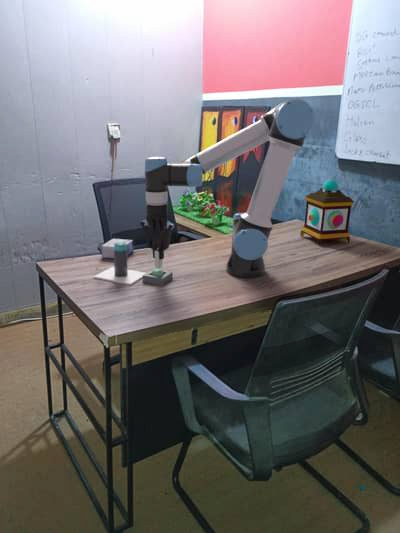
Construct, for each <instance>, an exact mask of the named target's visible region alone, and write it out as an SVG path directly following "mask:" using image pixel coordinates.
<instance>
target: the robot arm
mask: <svg viewBox="0 0 400 533" xmlns="http://www.w3.org/2000/svg"><path fill="white" fill-rule="evenodd" d="M314 124H315V112H314V110H313V107H312V105H310V104H309V102H307V101H306V100H304V99H302V98H298V97H293V98H288V99H286V100H284V101H280V103H279V104H277V105H276V106H275V107H274V108H272V109H270V110H269V111H268V112H266V113H264V114H262V115H261V116H260V119H259V120H258V121H256V122H254V123H252V124H250V125H248V126H247V127H245V128H242V129H241V130H239V131H237V132H236V133H234V134H231V135H230V136H227V137H226V138H224V139H223V140H220V141H219V142H216V143H214V144H213V145H211V146H209V147H207V148H206V149H204V150H202V151H199V152H198V153H196V154H195V155H193V156H191V157H188V158H186V159H184V160H182V161H181V162H180V163H170V162H169V163H168V158H167V157H163V156H150V157H147V158H146V159H145V161H144V182H145V202H146V204H145V211H146V212H145V213H146V216H145V219H144V220H141V222H140V223H139V224H140V226H141V228H142V229H143V234H144V238H145V242H146V246H147V248H148V249H151V251H152V258H153V259H154V269H162V267H163V259H164V258H165V251H166V250H168V249H169V248H170V244H171V240H172V234H173V230H174V228H175V226H176V224H175V223H172V222H171V221H170V219H169V217H168V216H169V204H168V190H169V189H168V187H189V188H193V187H201V186H202V185H203V176H204V175H205V174H207V173H209V172H211V171H213V170H215V169H217V168H218V167H220V166H222V165H224V164H226V163H228V162H230V161H232V160H234V159H235V158H237V157H239V156H241V155H243V154H246V153H247V152H249V151H252V150H253V149H255V148H257V147H259V146H261V145H262V144H265V143H266V142H268V141H269V146H268V148H267V152H266V155H265V158H264V160H263V163H262V166H261V170H260V171H259V172H260V173H259V176H258V178H257V182H256V184H255V188H254V189H253V193H252V196H251V199H250V202H249V204H248V207H247V211H245V212H237V213H234V214H233V217H232V237H231V238H232V239H231V252H230V253H229V254H230V255H229V257H228V261H227V263H226V266H225V268H226V269H225V270H226V272H227V273H228V274H229V275H232V276H235V277H239V278H257V277H261V276H263V275H265V272H266V265H265V262H264V258H263V256H264V255H265V253H266V252H267V249H268V246H269V237H270V235H271V232H272V230H273V223H272V220H271V219H272V217H273V214H274V211H275V209H276V205H277V203H278V200H279V197H280V195H281V192H282V189H283V186H284V184H285V181H286V178H287V175H288V172H289V170H290V167H291V165H292V161H293V159H294V156H295V154H296V152H297V151H299V150H301V149H302V148H303V146H304V144H305V141H306V138H307V135H308V134H309V133H310V131H311V130H312V128H313V127H314ZM165 229H166V231H165Z"/></svg>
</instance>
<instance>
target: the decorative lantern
mask: <svg viewBox="0 0 400 533" xmlns="http://www.w3.org/2000/svg"><path fill="white" fill-rule="evenodd" d="M305 201H306V204H305V205H306V209H305V217H304V225H303V227H302V228H301V230H300V237H301V238H303V237H304V236H305V235H308V236H309V237H311V238H314V239H315V240H317V245H318V247H319V246H321V245H322V242H323V241H329V240H331V241H332V240H343V239H345V243H346V244H349V243H350V242H351V241H350V240H351V237H350V234H349V224H350V217H351V212H352V210H351V209H352V206H353V205H354V203H355V201H354V200H353V199H352V198H351V197H350V196H347V195H346V194H344V193H343V192H342V191H341V190H340V189H339V183H337V181H336V180H334V179H332V178H331V179H328V180H326V181H325V182H324V183H323V186H322V187H321V188H319V189H318V190H317V191H315V192H310V193H309V194H307V195H305Z"/></svg>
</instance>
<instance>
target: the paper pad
mask: <svg viewBox="0 0 400 533" xmlns="http://www.w3.org/2000/svg"><path fill="white" fill-rule="evenodd" d="M146 273H147V272H144V271H139V270H138V271H137V270H132V269H128V275H127V276H125V277H117V276H115V271H114V266H110V267H109V268H107V269H106V270H103V271H101V272H99V273H97V274H95V275H94V276H93V278H94V279H96V280H102V281H107V282H113V283H118V284H122V285H127V286H132V285H134V284H135V283H137V282H138V281H139V282H140V280H143V275H144V274H146Z"/></svg>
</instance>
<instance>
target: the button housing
mask: <svg viewBox="0 0 400 533" xmlns="http://www.w3.org/2000/svg"><path fill="white" fill-rule="evenodd" d="M153 269H154V268H152V269H151V270H149V271H147V272H145V273H146V274H144V275H143V278H142V282H143V283H147V284H153V285H158V286H164V285H165V284H166V283H168V282H170V280H172V279H173V271H169V270H164V269H162V270H163V275H162V276H161V277H159V276H153V275H152V270H153Z"/></svg>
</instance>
